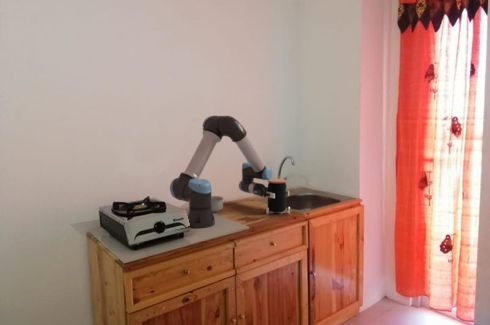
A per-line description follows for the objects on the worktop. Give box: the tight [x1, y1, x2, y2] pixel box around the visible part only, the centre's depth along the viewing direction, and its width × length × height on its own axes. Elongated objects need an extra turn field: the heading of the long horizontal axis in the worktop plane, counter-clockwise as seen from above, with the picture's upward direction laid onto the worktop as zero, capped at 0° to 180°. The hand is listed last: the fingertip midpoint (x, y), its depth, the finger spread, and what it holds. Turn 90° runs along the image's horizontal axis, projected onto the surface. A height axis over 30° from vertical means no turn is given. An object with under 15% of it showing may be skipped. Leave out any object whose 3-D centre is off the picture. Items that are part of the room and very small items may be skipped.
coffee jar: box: [267, 178, 287, 212], centre depth 223 cm, size 11×11×18 cm
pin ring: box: [265, 206, 291, 216], centre depth 222 cm, size 12×14×4 cm
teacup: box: [211, 195, 224, 213], centre depth 228 cm, size 14×11×8 cm
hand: (281, 194), depth 219 cm, fingers closed on coffee jar, 11 cm apart
